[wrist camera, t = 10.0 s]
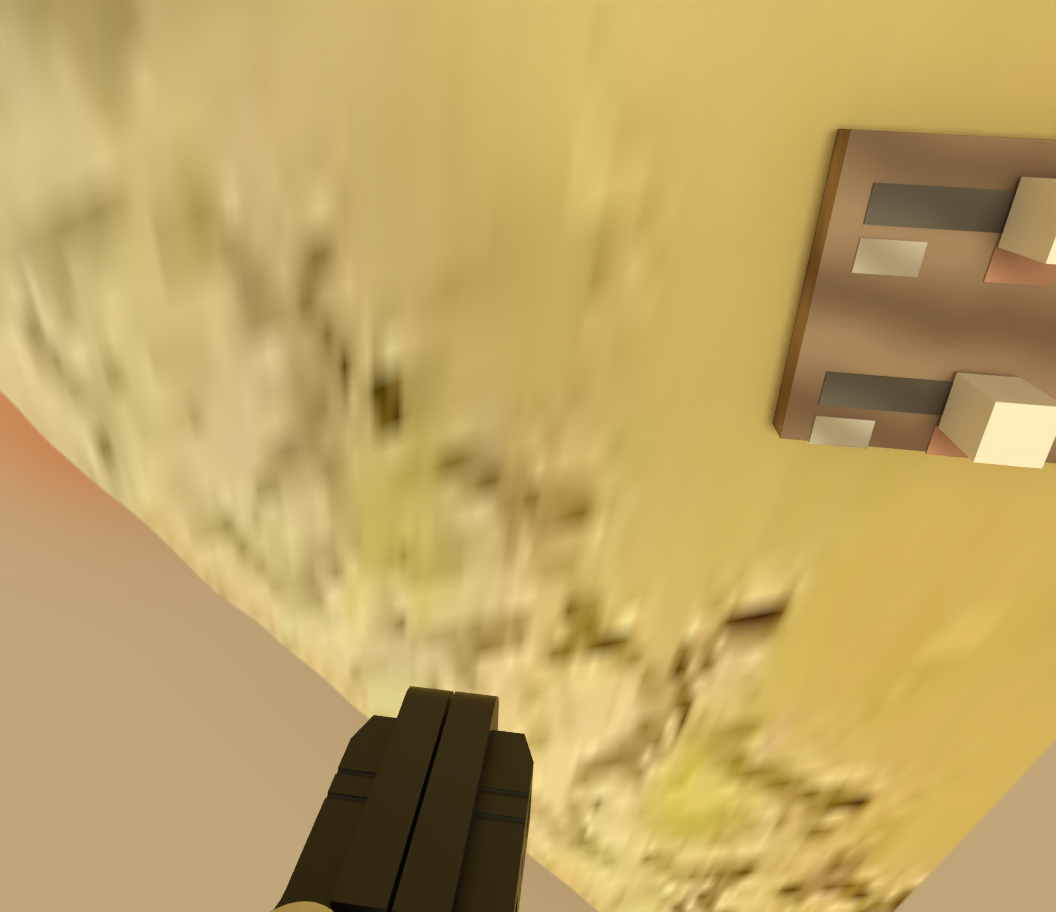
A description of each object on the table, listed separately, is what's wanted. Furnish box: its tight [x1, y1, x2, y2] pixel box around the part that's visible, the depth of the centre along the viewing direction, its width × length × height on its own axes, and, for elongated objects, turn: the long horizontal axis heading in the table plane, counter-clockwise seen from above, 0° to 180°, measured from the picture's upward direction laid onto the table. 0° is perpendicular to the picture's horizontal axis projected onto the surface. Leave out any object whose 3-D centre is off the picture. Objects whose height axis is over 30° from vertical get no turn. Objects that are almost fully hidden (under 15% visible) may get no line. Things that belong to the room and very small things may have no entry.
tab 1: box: [938, 372, 1056, 468], centre depth 33 cm, size 3×3×4 cm
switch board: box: [773, 129, 1056, 463], centre depth 34 cm, size 15×18×2 cm
